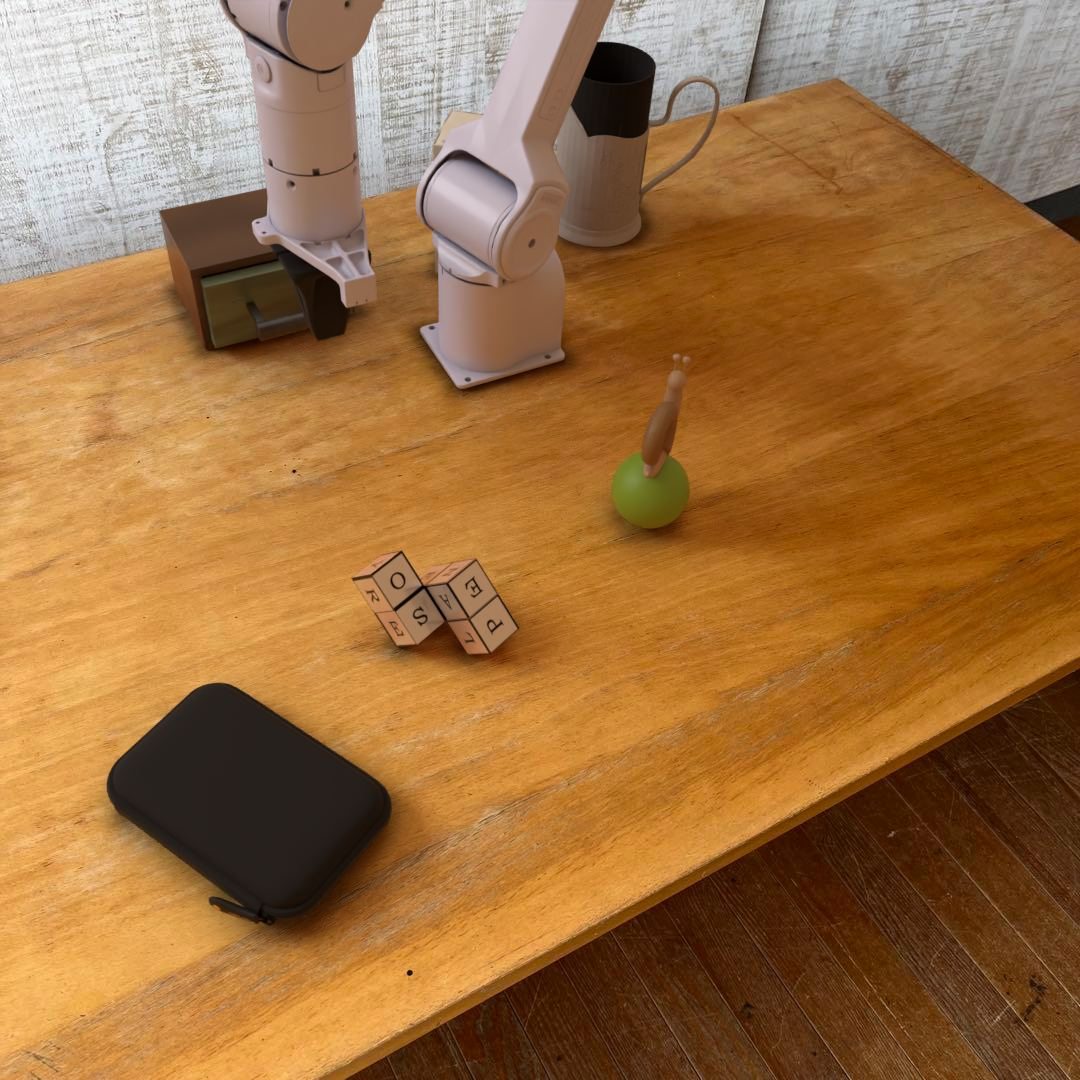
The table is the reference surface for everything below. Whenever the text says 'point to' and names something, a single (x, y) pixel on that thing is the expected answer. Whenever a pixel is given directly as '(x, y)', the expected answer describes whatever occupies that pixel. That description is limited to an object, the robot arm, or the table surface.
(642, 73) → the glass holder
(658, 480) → the snail figurine
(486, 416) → the table surface
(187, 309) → the cabinet
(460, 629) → the building blocks
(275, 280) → the drawer
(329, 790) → the carrying case
